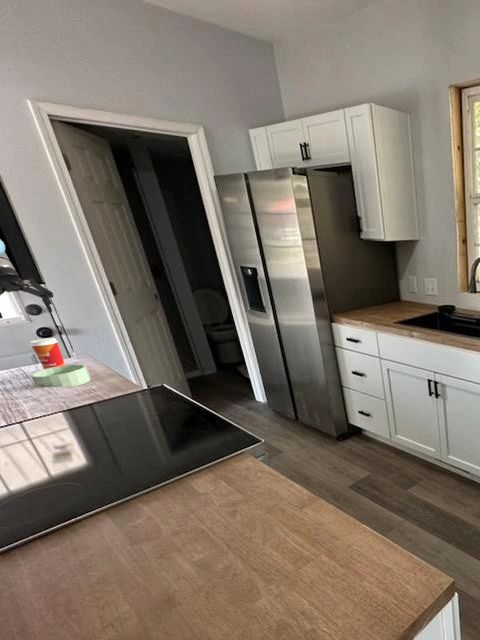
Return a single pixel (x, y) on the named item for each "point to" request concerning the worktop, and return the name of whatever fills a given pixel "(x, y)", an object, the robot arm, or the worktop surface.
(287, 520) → the worktop surface
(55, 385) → the bowl
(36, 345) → the paper cup
